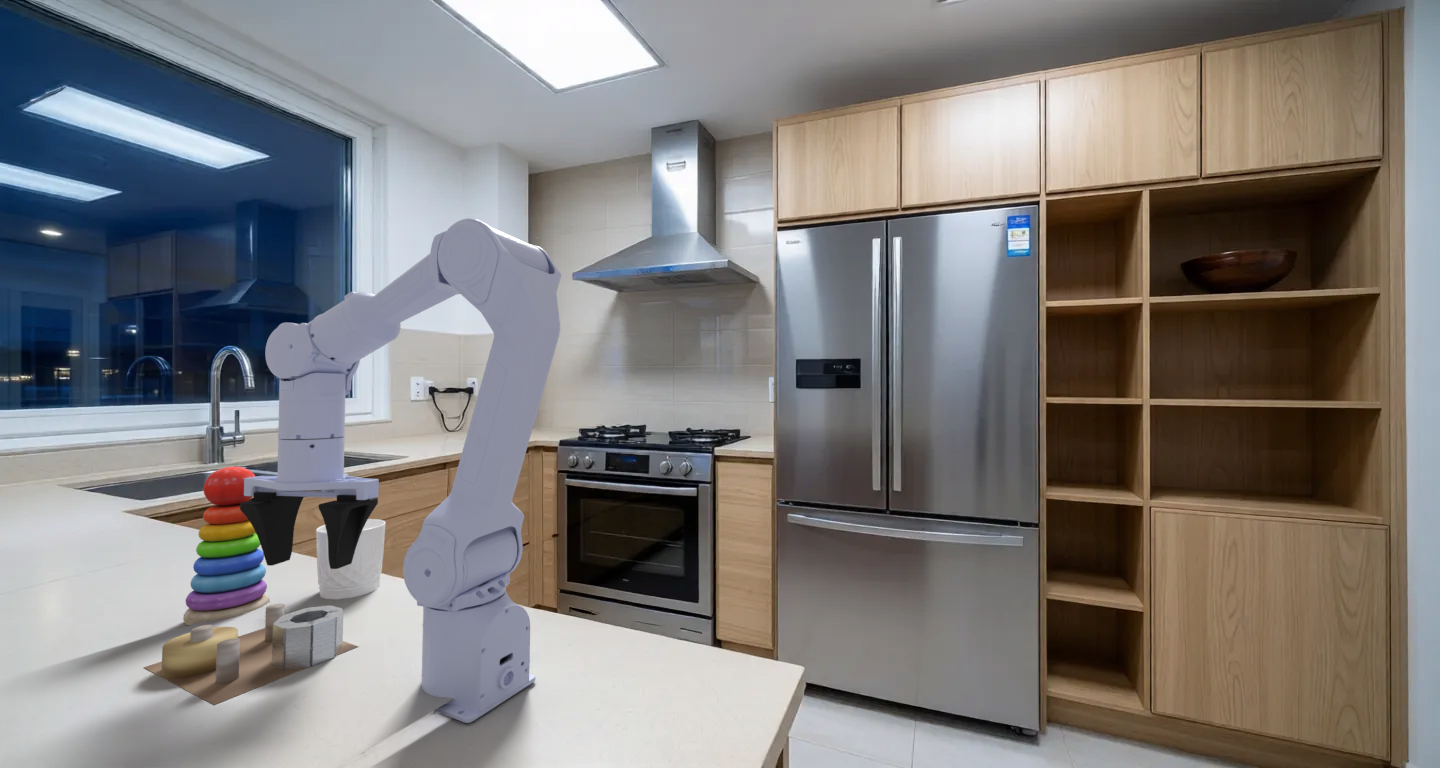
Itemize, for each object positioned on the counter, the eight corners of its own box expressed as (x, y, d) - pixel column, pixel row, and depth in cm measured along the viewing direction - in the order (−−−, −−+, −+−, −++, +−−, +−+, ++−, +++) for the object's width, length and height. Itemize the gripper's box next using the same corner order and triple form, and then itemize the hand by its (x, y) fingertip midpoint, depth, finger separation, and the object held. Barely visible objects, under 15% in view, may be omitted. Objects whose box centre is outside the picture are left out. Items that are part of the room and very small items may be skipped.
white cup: (302, 602, 72) (304, 527, 72) (364, 584, 79) (365, 516, 79) (334, 614, 68) (336, 535, 68) (396, 594, 75) (397, 522, 75)
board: (358, 657, 57) (359, 613, 57) (213, 718, 46) (215, 663, 46) (285, 631, 63) (286, 591, 63) (143, 679, 52) (144, 631, 52)
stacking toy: (285, 606, 70) (290, 463, 71) (223, 632, 63) (229, 472, 63) (231, 603, 71) (236, 462, 72) (163, 629, 63) (169, 470, 64)
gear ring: (351, 650, 56) (352, 611, 56) (292, 674, 51) (293, 632, 51) (321, 639, 59) (322, 602, 59) (262, 661, 54) (263, 621, 54)
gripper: (400, 436, 61) (398, 556, 60) (288, 434, 63) (285, 550, 62) (349, 441, 54) (346, 577, 53) (224, 439, 56) (221, 570, 55)
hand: (309, 564), depth 57 cm, fingers open, 7 cm apart
